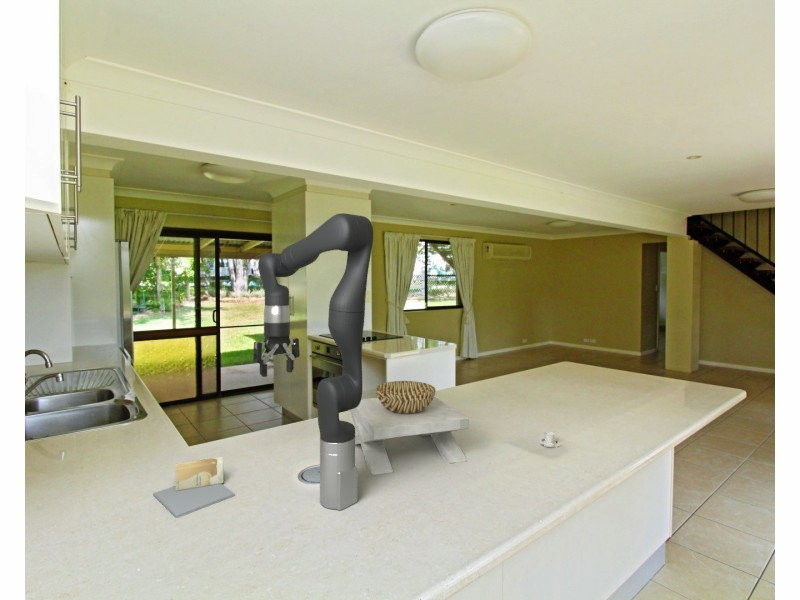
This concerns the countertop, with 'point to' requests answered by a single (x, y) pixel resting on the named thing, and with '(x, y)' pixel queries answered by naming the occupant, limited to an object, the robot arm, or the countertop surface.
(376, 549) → the countertop surface
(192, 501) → the mat
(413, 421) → the wicker basket on stand
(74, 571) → the countertop surface
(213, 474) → the skincare box
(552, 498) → the countertop surface
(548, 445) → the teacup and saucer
